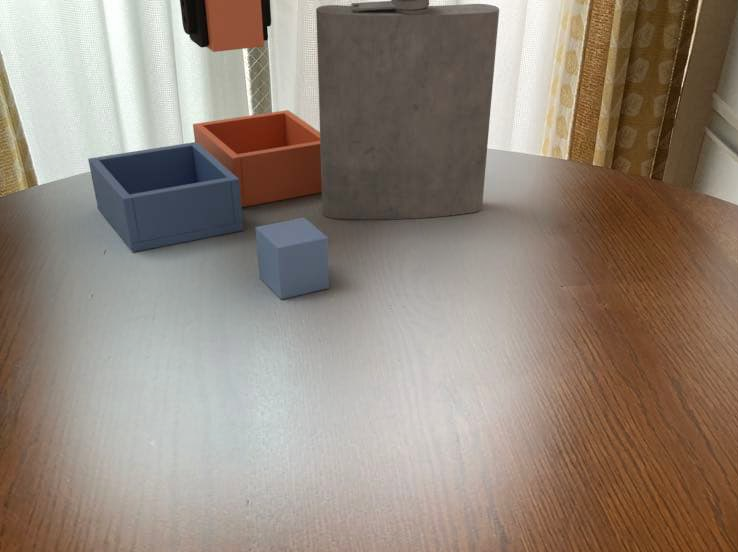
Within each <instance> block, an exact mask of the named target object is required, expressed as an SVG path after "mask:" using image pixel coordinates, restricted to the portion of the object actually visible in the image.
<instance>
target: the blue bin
mask: <svg viewBox="0 0 738 552" xmlns="http://www.w3.org/2000/svg"><path fill="white" fill-rule="evenodd" d="M87 161H88V166H89V170H90V176H91V181H92V186H93V190H94V196H95V200H96V206H97V210H98V209H99V210H98V211H99V212H100V214H101V215H102V214H103V215H102V216H103V217H104V218H105V220H106V221H107V223H108V224H109V225H110V226H111V227H112V228H113V230H114V231H115V232H116V234H117V235H118V236H119V238H120V239H122V241H123V242H124V244H125V245H126V246H127V247H128V248H129V250H130V251H131V253H135V252H141V251H146V250H151V249H156V248H161V247H166V246H171V245H175V244H180V243H186V242H191V241H196V240H200V239H201V240H202V239H207V238H210V237H211V238H212V237H216V236H221V235H222V236H223V235H227V234H231V233H237V232H242V231H244V221H243V210H242V208H243V207H241V197H240V186H239V179H238V178H237V177H236V176H235V175H234V174H233V173H231V172H230V171H229V170H228V169H227V168H226V167H225V166H224V165H222V164H221V163H220V162H219V161H218V160H217V159H216V158H215V157H213V156H212V155H211V154H210V153H209V152H208V151H207V150H206V149H204V148H203V147H202V146H201V145H200V144H199V143H198V142H195V141H193V142H186V143H181V144H174V145H167V146H160V147H154V148H148V149H142V150H136V151H129V152H121V153H116V154H110V155H103V156H96V157H89V158H88V159H87Z"/></svg>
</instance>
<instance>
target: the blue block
mask: <svg viewBox="0 0 738 552" xmlns="http://www.w3.org/2000/svg"><path fill="white" fill-rule="evenodd" d="M255 237H256V238H255V239H256V253H257V265H258V276H259V279H260V280H261V281H262V282H264V284H265V285H266V286H267V287H268V288H269V289H270V290H271V291H272V292H273V293H274V294H275V295H276V296H277V297H278V298H279V299H280V300H284V299H289V298H294V297H298V296H302V295H306V294H310V293H311V294H312V293H315V292H320V291H323V290H328V289H330V269H329V268H330V267H329V266H330V265H329V261H330V260H329V237H328V236H327V235H326V234H324V233H323V232H322V231H320V229H318V228H317V227H316V226H315V225H314V224H312V223H311V222H310V220H308V219H307V218H305V217H300V218H299V217H298V218H295V219H290V220H283V221H279V222H273V223H269V224H265V225H259V226H255Z"/></svg>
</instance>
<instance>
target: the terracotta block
mask: <svg viewBox="0 0 738 552" xmlns="http://www.w3.org/2000/svg"><path fill="white" fill-rule="evenodd" d="M205 9H206V19H207V28H208V38H209V45H208V47H206V48H207V49H208V50H210V51H211V52H213V53H217V52H226V51H235V50H243V49H253V48H261V47H265V43H264V42H265V41H264V40H263V25H262V10H261V0H205Z"/></svg>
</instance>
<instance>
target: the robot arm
mask: <svg viewBox="0 0 738 552" xmlns="http://www.w3.org/2000/svg"><path fill="white" fill-rule="evenodd" d="M179 5H180V13H181V22H182V28H183V31H184V33H185V34H186V35H189V39H190V40H191V41H192V42H193V43H195V44H196V45H197V46H198V47H199V48H207V47H208V45H209V38H208V28H207V19H206V9H205V0H179ZM261 10H262V25H263V40H264V42H265V41H268V40H269V29H268V27H271V26H272V11H271V0H261Z"/></svg>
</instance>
